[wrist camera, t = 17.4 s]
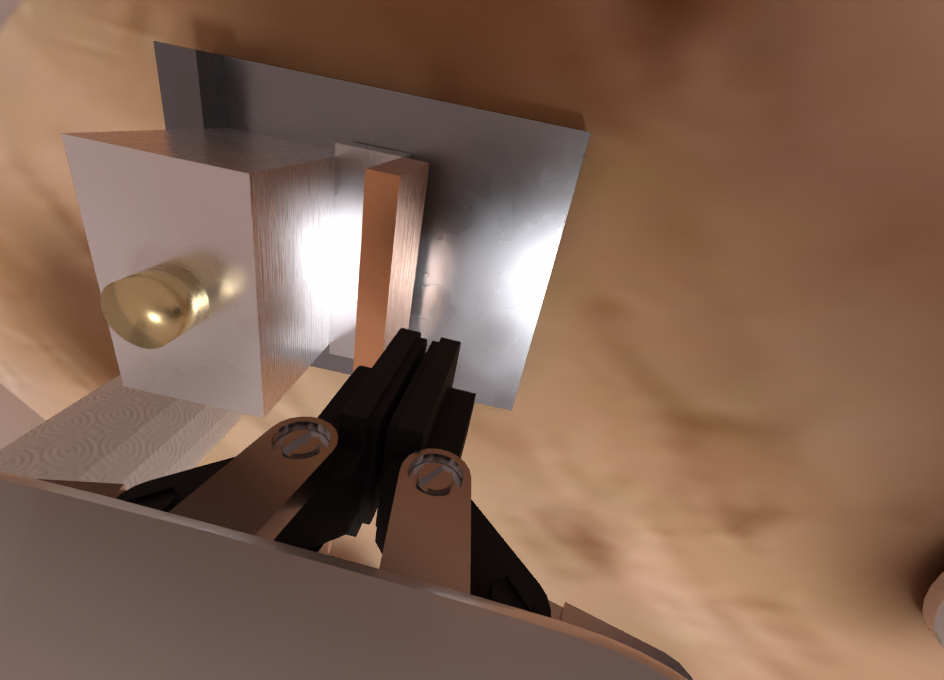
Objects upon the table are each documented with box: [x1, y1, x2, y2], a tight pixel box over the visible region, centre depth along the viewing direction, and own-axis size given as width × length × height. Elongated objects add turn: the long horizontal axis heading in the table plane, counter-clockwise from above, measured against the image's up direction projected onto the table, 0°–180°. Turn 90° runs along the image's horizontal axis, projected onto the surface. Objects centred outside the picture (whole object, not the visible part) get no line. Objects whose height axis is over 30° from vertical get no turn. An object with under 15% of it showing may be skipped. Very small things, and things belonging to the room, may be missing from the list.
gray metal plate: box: [154, 41, 591, 410], centre depth 19 cm, size 16×13×3 cm
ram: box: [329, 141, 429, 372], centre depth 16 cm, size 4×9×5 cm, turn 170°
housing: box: [61, 128, 335, 418], centre depth 15 cm, size 5×8×8 cm, turn 169°
